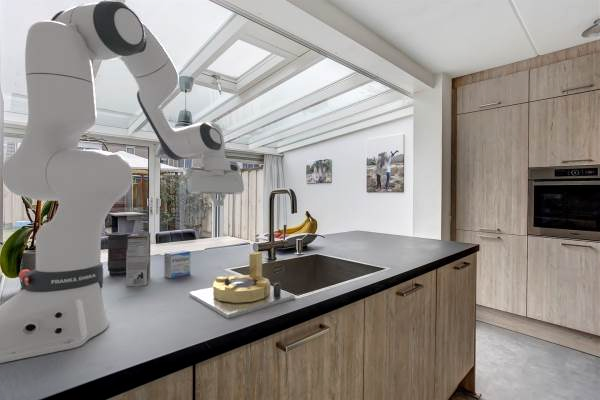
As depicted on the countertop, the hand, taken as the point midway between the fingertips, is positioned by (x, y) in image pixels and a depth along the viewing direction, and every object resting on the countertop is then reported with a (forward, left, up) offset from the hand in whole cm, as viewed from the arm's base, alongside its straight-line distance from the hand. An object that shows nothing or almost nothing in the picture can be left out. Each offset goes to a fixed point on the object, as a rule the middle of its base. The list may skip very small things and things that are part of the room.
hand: (219, 205), depth 107 cm
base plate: (-4, -21, -26) cm, 33 cm away
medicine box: (-9, +14, -26) cm, 31 cm away
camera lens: (-24, +29, -26) cm, 46 cm away
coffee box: (-22, +14, -26) cm, 37 cm away
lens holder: (-2, -21, -25) cm, 32 cm away
